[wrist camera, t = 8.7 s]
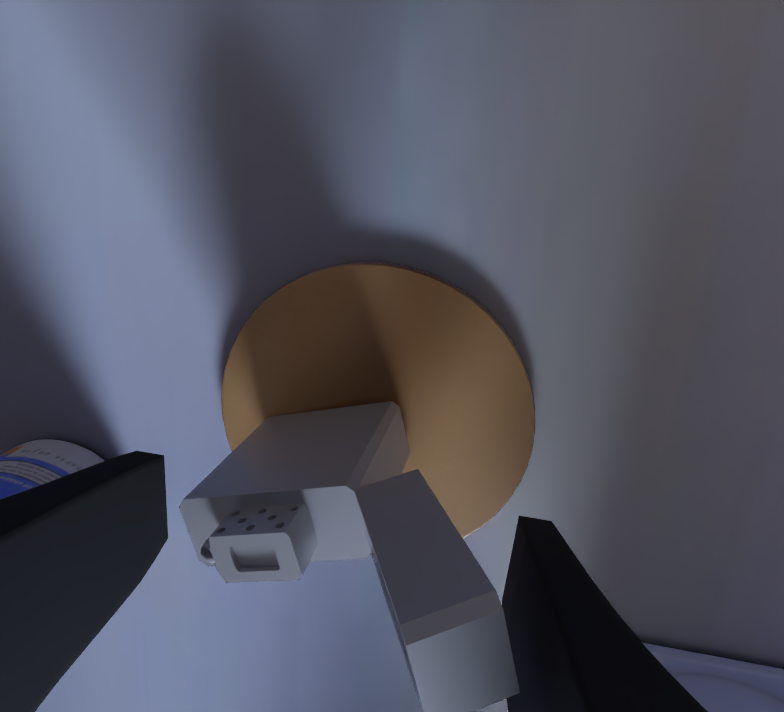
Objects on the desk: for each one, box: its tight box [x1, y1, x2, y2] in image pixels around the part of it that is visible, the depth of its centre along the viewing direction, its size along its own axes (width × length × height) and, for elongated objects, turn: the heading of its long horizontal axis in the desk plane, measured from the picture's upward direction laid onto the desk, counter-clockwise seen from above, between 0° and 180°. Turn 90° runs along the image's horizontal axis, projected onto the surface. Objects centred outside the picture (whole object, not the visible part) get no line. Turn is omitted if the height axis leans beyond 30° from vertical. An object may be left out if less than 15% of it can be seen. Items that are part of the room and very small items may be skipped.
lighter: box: [179, 401, 520, 712], centre depth 11 cm, size 7×2×8 cm, turn 103°
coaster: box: [221, 262, 535, 555], centre depth 15 cm, size 9×9×1 cm
